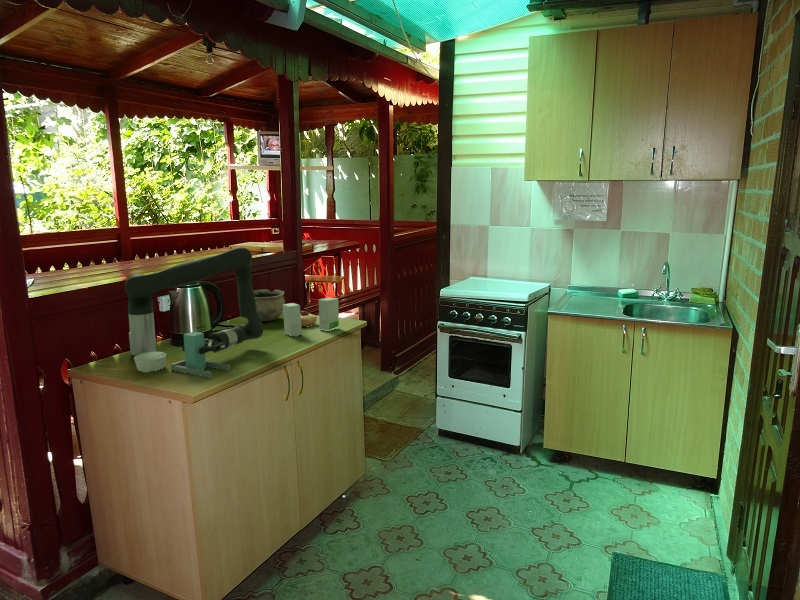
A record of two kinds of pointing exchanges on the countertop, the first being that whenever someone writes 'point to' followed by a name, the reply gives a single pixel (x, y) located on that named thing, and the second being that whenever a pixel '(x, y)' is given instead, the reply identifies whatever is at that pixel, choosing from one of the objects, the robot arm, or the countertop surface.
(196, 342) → the teal block
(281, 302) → the ceramic bowl
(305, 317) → the pastry
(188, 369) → the grey rectangular frame
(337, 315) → the skincare box
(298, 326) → the skincare box
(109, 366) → the countertop surface
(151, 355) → the ramekin
